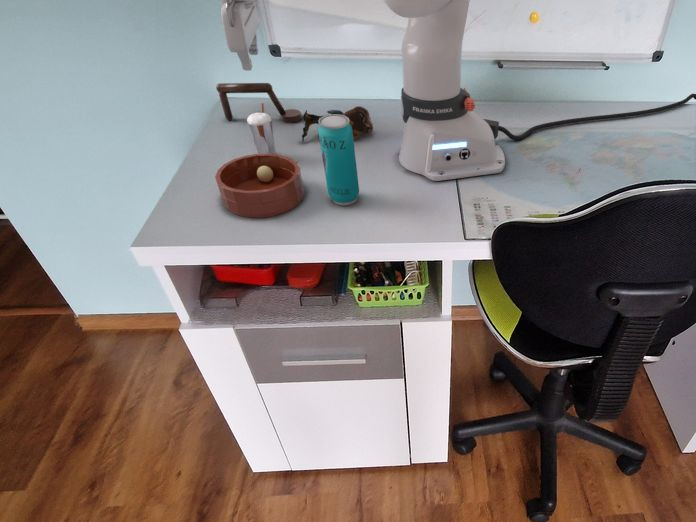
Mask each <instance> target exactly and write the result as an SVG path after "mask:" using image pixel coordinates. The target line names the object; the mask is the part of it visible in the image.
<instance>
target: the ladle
mask: <svg viewBox="0 0 696 522" xmlns="http://www.w3.org/2000/svg"><path fill="white" fill-rule="evenodd" d="M215 89H216V91H217V93H218V96H219V99H220V103H221V107H222V111H223V115H224V117H225V119H226V120H227V121H232V120H233V119H234V116H233V113H232V109H231V104H230V101H229V98H228V94H267V96H268V97H269V99H270V100H271V102H272V104H273V105H274V107H275V108H276V111H277V112H278V114H279V116H280V117H281V119H282V121H283V122H285V123H289V124H293V123H298V122H300V121H302V120H303V115H302V113H301V111H300V110H299V109H296V108H290V109H285V108H284V107H283V105H282V103H281V102H280V99H279V98H278V97H277V95H276V93H275V92H274V90H273V85H272V84H271V83H269V82H224V83H222V82H219V83H217V84H216V86H215Z"/></svg>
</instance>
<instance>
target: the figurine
mask: <svg viewBox="0 0 696 522" xmlns="http://www.w3.org/2000/svg"><path fill="white" fill-rule="evenodd" d="M326 113H327V114H324V115H317V114H313V113H308V110H307V109H305V111H304V114H303V115H302V120H303V121H304V127H303V128H302V132H303V133H302V135H301V141H302V143H304V142H305V138H306V137H307V136H308V133H309V130H310V127H311V126H312V125H315V124H316V125H319V119H320V118H321V117H323V116H326V115H331V114H339V115H344V116H346V117H348V118H349V120H350V122H349V123H350V125H351V127H352V132H353V140H357V138H358V135H362V134H363V135H366V134H371V133H372V132H373V130H374V124H373V122H372V120H371V114H370V112H369V110H368V109H367V108H365V107H363V106H355V107H353V108H351V109H349V110H347V111H345V112H344V111H342V110H340V109H329V110H327V111H326Z"/></svg>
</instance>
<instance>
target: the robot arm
mask: <svg viewBox="0 0 696 522" xmlns="http://www.w3.org/2000/svg"><path fill="white" fill-rule="evenodd" d="M220 2H221V6H222V7H221V9H220V15H221V22H222V27H223V31H224V36H225V41H226V46H227V48H228V50H229V52H231V53H235V54H236V55H237V57H238V58H239V61H240V64H241V67H242V70H243V71H252V69H253V63H252V62H253V61H252V58H250V57H251V56H257V55H259V46H258V35H257V34H258V33H257V31H258V29H259V27H260V24H261V14H260V13H259V12H260V6H259V7H258V4H259V0H220ZM383 2H384V3H385V5H386V6H387V8H389V10H391V12H392V13H394V14H395V15H398V16H399V17H402V18H406V19H407V25H406V29H405V33H404V35H403V39H402V43H401V64H402V67H401V68H402V88H401V93H400V107H401V110H400V111H401V118H402V120H403V127H402V129H403V130H402V138H401V145H400V149H399V150H400V151H399V153H398V163H399V164H400V165H401V166H402V167H403V168H404V169H406V170H408V171H410V172H412V173H415V174H419V175H422V176H424V177H425V178H427V179H429V180H430V181H433V182H439V181H440V182H441V181H446V180H455V179H463V178H470V177H477V176H485V175H492V174H493V175H494V174H500V173H502V172H503V171H504V170H505V167H506V156H505V153H504V151H503V149H502V148H501V147H500V145H499V144H497V142H496V139H497V137H498V136H499V132H502V133H503V134H504V135H506V136H507V137H508V138H509V139H511V140H512V141H522V140H524V139H526V138H527V137H528V136H530V135H531V134H532V133H533V132H536V131H539V130H542V129H547V128H551V127H556V126H562V125H567V124H568V125H569V124H576V123H582V122H583V123H585V122H591V121H600V120H602V121H603V120H610V119H611V120H612V119H619V118H628V117H629V118H630V117H636V116H643V115H644V116H645V115H649V114H654V113H659V112H663V111H666V110H671V109H674V108H677V107H680V106H682V105H684V104H685V105H686V104H687V103H688V102H689V101H690V100H692V99H694V100H696V93H695V94H694V93H691V94H689V95H688V96H686V98H684V99H682V100H679V101H677V102H674V103H670V104H666V105H662V106H658V107H655V108H654V107H653V108H649V109H644V110H637V111H629V112H622V113H612V114H611V113H610V114H602V115H594V116H592V115H591V116H585V117H584V116H583V117H575V118H568V119H561V120H555V121H550V122H545V123H541V124H538V125H534V126H532V127H530V128H529V129H527V130H526V131H525V132H524V133H522V134H519V135H514V134H513V133H512V132H510V130H508V128H506V127H504V126H502V125H500V121H498V120H491V119H486V118H482V117H481V115H480V116H479V115H478V114H477V113H476V112H474V110H475V109H476V103H475V100H474V99H473V98H472V97H471V94H470V93H469V92H468V91H467V89H466V87H463V88H462V87H461V82H462V81H461V79H462V53H463V50H462V49H463V43H464V42H463V41H464V35H465V31H466V30H465V29H466V23H467V18H468V14H469V7H470V0H383ZM250 55H251V56H250Z"/></svg>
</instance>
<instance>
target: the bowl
mask: <svg viewBox="0 0 696 522" xmlns="http://www.w3.org/2000/svg"><path fill="white" fill-rule="evenodd" d="M261 166H268V167H269V168H271V170H272V171H273V178H272V180H271V181H269V182H263V181H261V180H260V179H259V178H258V177H257V170H258V168H259V167H261ZM302 177H303V176H302V173H301V167H300V166H299V164H298V162H297V161H295V160H294V159H292V157H288V156H285V155H282V154H277V153H276V154H259V153H254V154H246V155H243V156H240V157H236V158H233V159H231V160H229V161H227V162H225V163H223V165H222V166H221V167H219V168H218V169H217V171H216V173H215V176H214V178H215V181H216V184H217V187H218V190H219V193H220V197H221V200H222V203H223V205H224V207H225V209H227V210H228V211H229V212H230V213H232V214H234V215H236V216H240V217H243V218H252V219H260V218H261V219H262V218H269V217H275V216H278V215H282V214H285V213H287V212H289V211H291V210H293V209H294V208H296V207H298V206H299V205H300V204H301V203H302V201H303V199H304V197H305V188H304V184H303V183H304V182H303V178H302Z"/></svg>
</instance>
